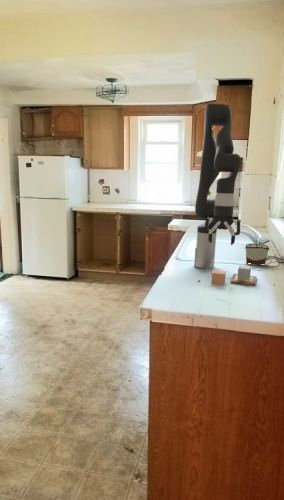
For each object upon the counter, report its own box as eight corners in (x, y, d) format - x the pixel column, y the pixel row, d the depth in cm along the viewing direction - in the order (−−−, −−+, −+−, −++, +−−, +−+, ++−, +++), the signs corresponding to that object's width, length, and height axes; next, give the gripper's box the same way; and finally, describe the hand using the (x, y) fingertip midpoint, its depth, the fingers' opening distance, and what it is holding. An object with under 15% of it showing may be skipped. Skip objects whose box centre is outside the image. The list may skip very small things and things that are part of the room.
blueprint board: (230, 283, 159) (230, 280, 159) (233, 275, 170) (233, 273, 170) (255, 286, 156) (255, 283, 155) (256, 278, 167) (256, 276, 167)
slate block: (237, 279, 161) (238, 268, 160) (238, 276, 166) (239, 265, 165) (249, 280, 160) (250, 269, 158) (250, 277, 164) (251, 266, 163)
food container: (265, 262, 197) (267, 243, 195) (268, 265, 191) (270, 246, 189) (241, 261, 198) (243, 242, 196) (243, 264, 192) (245, 245, 190)
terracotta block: (211, 284, 157) (212, 272, 156) (212, 281, 162) (213, 269, 161) (223, 285, 155) (224, 274, 154) (224, 282, 160) (225, 271, 159)
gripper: (205, 204, 150) (202, 243, 154) (241, 206, 146) (238, 246, 149) (208, 202, 157) (205, 240, 161) (243, 204, 153) (239, 243, 156)
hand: (221, 243), depth 155 cm, fingers open, 8 cm apart
